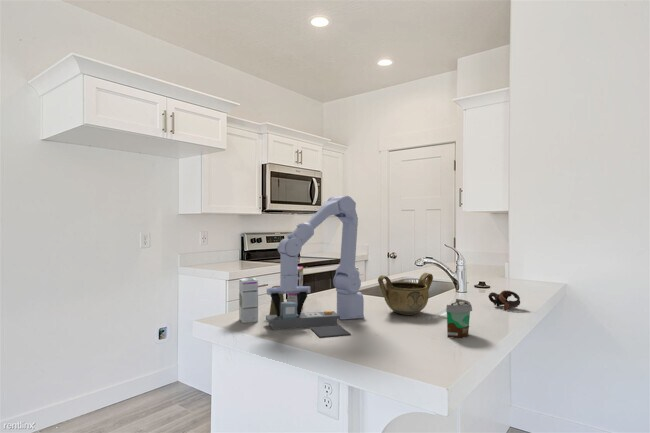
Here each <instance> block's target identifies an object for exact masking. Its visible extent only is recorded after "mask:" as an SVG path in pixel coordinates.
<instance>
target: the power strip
mask: <svg viewBox="0 0 650 433" xmlns="http://www.w3.org/2000/svg"><path fill="white" fill-rule="evenodd" d="M265 320H266V322H267V323H268V325H269V327H270V329H271V330H287V329H300V328H313V327H326V326H338V320H341V319H340V315H338V314H337V312H335V311H333V310H323V311H316V312H301V315H298V314H297V318H291V319H281V314H280V317H277V315H269V314H268V315H267V314H266V315H265Z"/></svg>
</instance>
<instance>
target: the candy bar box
mask: <svg viewBox="0 0 650 433" xmlns="http://www.w3.org/2000/svg"><path fill="white" fill-rule="evenodd" d="M297 286H304V266H301V265H300V266H299V265H298V277H297ZM286 302H295V303H296V304H297V293H288V294H286Z"/></svg>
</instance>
